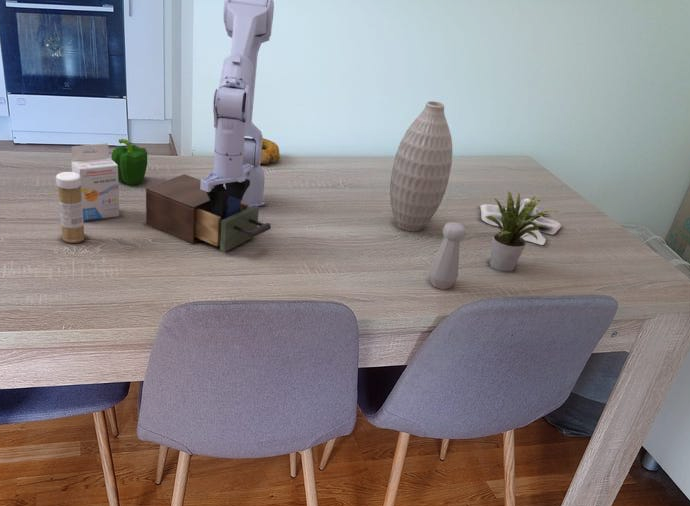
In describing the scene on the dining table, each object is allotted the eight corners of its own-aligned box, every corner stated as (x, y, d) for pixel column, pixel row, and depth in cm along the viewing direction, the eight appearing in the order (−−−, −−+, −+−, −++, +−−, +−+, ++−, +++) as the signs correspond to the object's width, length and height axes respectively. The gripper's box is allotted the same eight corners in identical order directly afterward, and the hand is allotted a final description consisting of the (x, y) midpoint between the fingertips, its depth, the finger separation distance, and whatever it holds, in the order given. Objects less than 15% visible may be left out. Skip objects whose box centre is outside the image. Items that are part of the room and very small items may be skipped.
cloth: (464, 209, 178) (470, 186, 175) (521, 203, 186) (528, 181, 182) (522, 248, 162) (530, 223, 159) (582, 240, 170) (591, 216, 166)
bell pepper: (155, 181, 173) (155, 141, 167) (132, 190, 167) (131, 148, 161) (129, 172, 176) (128, 132, 171) (106, 180, 170) (104, 139, 165)
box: (227, 227, 145) (229, 204, 143) (211, 221, 147) (212, 198, 144) (239, 222, 148) (241, 199, 145) (223, 215, 150) (224, 193, 147)
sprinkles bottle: (82, 232, 146) (77, 170, 139) (87, 242, 143) (83, 178, 136) (59, 235, 145) (53, 171, 137) (64, 245, 141) (58, 180, 134)
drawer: (275, 243, 150) (278, 214, 146) (244, 260, 142) (246, 230, 138) (212, 217, 157) (213, 189, 153) (178, 232, 149) (179, 203, 145)
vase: (442, 223, 169) (471, 103, 153) (428, 242, 160) (457, 116, 143) (392, 210, 173) (415, 91, 157) (375, 228, 163) (398, 103, 147)
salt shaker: (423, 276, 146) (437, 217, 138) (450, 277, 146) (465, 219, 139) (430, 290, 141) (445, 230, 134) (458, 291, 142) (474, 232, 134)
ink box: (82, 222, 151) (77, 154, 142) (74, 213, 154) (69, 146, 145) (120, 216, 155) (118, 150, 146) (111, 207, 158) (108, 142, 150)
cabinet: (229, 226, 156) (231, 191, 151) (192, 243, 147) (193, 207, 143) (183, 208, 162) (184, 174, 157) (146, 224, 153) (145, 188, 148)
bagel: (239, 162, 189) (240, 144, 186) (248, 149, 198) (249, 132, 195) (275, 168, 188) (277, 150, 185) (282, 155, 197) (284, 138, 194)
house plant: (523, 291, 145) (548, 217, 135) (460, 269, 150) (480, 196, 141) (542, 267, 155) (566, 197, 146) (482, 247, 160) (502, 178, 151)
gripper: (221, 165, 132) (218, 231, 140) (266, 148, 143) (261, 211, 150) (192, 155, 135) (191, 220, 143) (239, 139, 146) (235, 201, 153)
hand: (225, 215), depth 147 cm, fingers closed on box, 4 cm apart
